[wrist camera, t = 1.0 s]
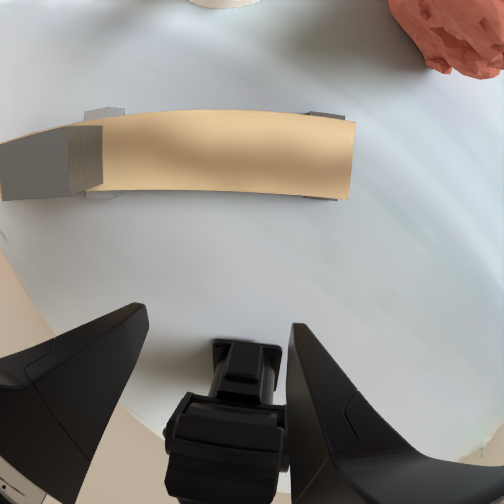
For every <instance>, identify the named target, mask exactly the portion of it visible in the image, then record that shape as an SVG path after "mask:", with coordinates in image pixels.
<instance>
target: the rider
mask: <svg viewBox="0 0 504 504" xmlns="http://www.w3.org/2000/svg"><path fill="white" fill-rule="evenodd" d="M102 132H103V125H78V126H64V127H60V128H55V129H51V130H47V131H43V132H39V133H35V134H31V135H28V136H24V137H21V138H17V139H14V140H11V141H8V142H5V143H2V144H0V182H1V192H2V201H9V200H20V199H33V198H48V197H65V196H72V195H74V194H77V193H79V192H82V191H85V190H87V189H90V188H92V187H95V186H98V185H100V184H103V154H102Z"/></svg>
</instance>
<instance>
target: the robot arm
mask: <svg viewBox="0 0 504 504" xmlns="http://www.w3.org/2000/svg"><path fill="white" fill-rule="evenodd" d="M148 330H149V320H148V315H147V309H146V306H145V305H144V304H142V303H136V302H134V303H131V304H129V305H127V306H124V307H122V308H120V309H118V310H115V311H113V312H111V313H109V314H106V315H104V316H102V317H100V318H97V319H95V320H93V321H90V322H88V323H86V324H84V325H81V326H79V327H77V328H75V329H72V330H70V331H68V332H66V333H63V334H61V335H59V336H57V337H55V339H54V338H52V339H50V340H48V341H45V342H43V343H41V344H38V345H36V346H33V347H31V348H28V349H25V350H23V351H20V352H17V353H14V354H11V355H9V356H6V357H3V358H0V504H42V503H43V501H44V499H45V497H46V495H47V494H48V495H49V496H51V497H52V498H54V499H56V500H57V501H59V502H60V503H62V504H75V502H76V499H77V497H78V494H79V491H80V489H81V486H82V483H83V481H84V478H85V476H86V473H87V471H88V469H89V466H90V464H91V461H92V459H93V456H94V454H95V451H96V449H97V447H98V444H99V442H100V440H101V438H102V435H103V433H104V431H105V428H106V426H107V424H108V422H109V420H110V417H111V415H112V413H113V411H114V409H115V407H116V404H117V402H118V400H119V398H120V396H121V394H122V392H123V390H124V388H125V386H126V383H127V381H128V379H129V377H130V375H131V373H132V371H133V369H134V367H135V365H136V362H137V360H138V357H139V354H140V351H141V349H142V346H143V343H144V341H145V338H146V335H147V332H148ZM217 344H219V345H217ZM276 351H278V352H276ZM281 358H282V348H281V347H280V346H273V345H262V344H252V343H243V342H235V341H227V340H219V339H216V340H215V341H214V342H213V363H214V377H213V380H212V384H211V387H210V391H209V394H208V396H202V395H197V394H194V393H192V392H187V393H186V395H185V396H184V398H182V400H181V401H180V403H179V405H178V406H177V408H176V409H175V411H174V413H173V414H172V416H171V418H170V419H169V421H168V422H167V425H166V427H165V428H164V430H163V436H164V438H165V450H166V453H167V454H168V455H169V463H168V468H167V472H166V477H165V481H164V482H165V486H166V489H167V492H168V494H169V495H170V496H172V497H176V498H177V499H178V501H179V503H180V504H270V503H271V502H272V501H273V498H274V496H275V494H276V490H277V484H278V477H279V472H286V473H287V471H288V469H289V465H290V477H291V500H292V501H291V502H292V504H504V466H495V467H493V466H479V465H471V464H463V463H457V462H451V461H445V460H439V459H434V458H431V457H428V456H426V455H424V454H422V453H420V452H419V451H417V450H416V449H415V448H414V447H412V446H411V445H410V444H409V443H408V442H407V441H406V440H405V439H404V438H403V437H402V436H401V435H400V434H399V433H398V432H397V431H396V430H394V429H393V428H392V427H391V426H390V425H389V424H388V423H387V422H386V421H385V420H384V419H383V418H382V417H381V416H380V415H379V414H378V413H377V412H376V411H375V409H374V408H373V407H372V406H371V405H370V404H369V402H368V401H367V400H366V399H365V398H364V396H363V395H362V394H361V393H360V391H357V388H356V387H355V385H354V384H353V383H352V382H351V380H350V379H349V378H348V377H347V375H346V374H345V373H344V372H343V370H342V369H341V368H340V367H339V365H338V364H337V363H336V362H335V360H334V359H333V358H332V356H331V355H330V354H329V353H328V351H327V350H326V349H325V348H324V346H323V345H322V344H321V343H320V341H319V340H318V339H317V338H316V336H315V335H314V334H313V333H312V331H311V330H310V329H309V328H308V326H307V325H306V324H304V323H293V324H292V327H291V333H290V339H289V345H288V360H287V375H286V403H287V405H285V404H284V405H273V392H274V391H276V387H277V381H278V376H279V370H280V364H281Z"/></svg>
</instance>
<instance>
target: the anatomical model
mask: <svg viewBox="0 0 504 504" xmlns="http://www.w3.org/2000/svg"><path fill="white" fill-rule="evenodd" d="M388 5H389V9H390V12H391V14H392V15H393V16H394V18H395V19H396V20H397V22H398V23H399V24H400V26H401V27H402V29H403V30H404V31H405V32H406V33H407V34H408V35H409V36H410V37H411V39H412V40H413V41H414V43H415V44H416V45H417V47H418V48H419V50H420V51H421V52H422V54H423V57H424V61H425V64H426V65H427V67H430V68H433V69H435V70H437V71H439V72H441V73H443V74H450V73H451V70H452V67H453V68H454V69H456V70H457V71H458V72H460V73H461V74H463V75H466V76H469V77H473V78H476V79H480V80H481V79H488V78H493V77H495V76H497V75H499V73H500V71H501V69H502V70H504V0H388Z"/></svg>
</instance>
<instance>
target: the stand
mask: <svg viewBox="0 0 504 504" xmlns="http://www.w3.org/2000/svg"><path fill="white" fill-rule="evenodd" d="M123 115H125V109H122V108H113V107H106V108H101V109H96V110H91V111H86V112H84V121H90V120H95V119H102V118H108V117H115V116H123ZM309 115H312V116H319V117H327V118H334V119H340V120H345V116H341V115H335V114H328V113H320V112H311V111H310V112H309ZM34 133H35V132H34ZM30 134H32V133H30ZM27 135H28V134H27ZM123 193H125V190H104V191H86V199H111V198H113V197H116V196H118V195H121V194H123ZM303 197H304V198H314V199H323V200H332V201H337V200H338V199H335V198H325V197H314V196H303Z"/></svg>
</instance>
